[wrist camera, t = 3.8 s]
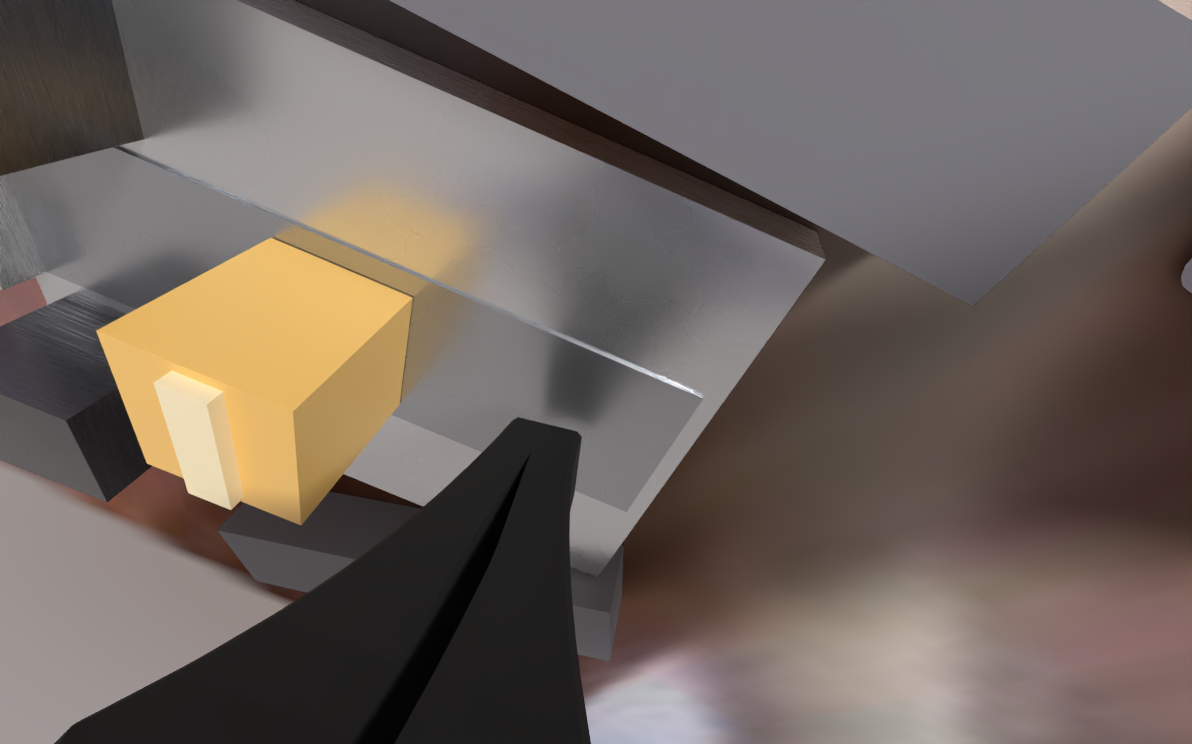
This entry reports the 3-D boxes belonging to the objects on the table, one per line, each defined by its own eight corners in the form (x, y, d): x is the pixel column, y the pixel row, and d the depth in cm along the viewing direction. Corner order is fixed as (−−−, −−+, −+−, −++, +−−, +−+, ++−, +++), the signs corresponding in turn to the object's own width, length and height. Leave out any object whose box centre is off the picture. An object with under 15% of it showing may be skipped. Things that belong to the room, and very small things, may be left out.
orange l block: (412, 297, 10) (278, 425, 7) (399, 404, 12) (290, 539, 9) (270, 237, 10) (74, 342, 7) (281, 355, 12) (131, 475, 9)
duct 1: (625, 536, 16) (610, 612, 14) (623, 588, 18) (610, 661, 16) (271, 472, 18) (217, 530, 16) (302, 523, 20) (255, 580, 18)
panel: (816, 231, 9) (862, 372, 6) (605, 542, 16) (570, 687, 13) (-64, -159, 8) (-579, -252, 5) (115, 340, 15) (-55, 437, 12)
